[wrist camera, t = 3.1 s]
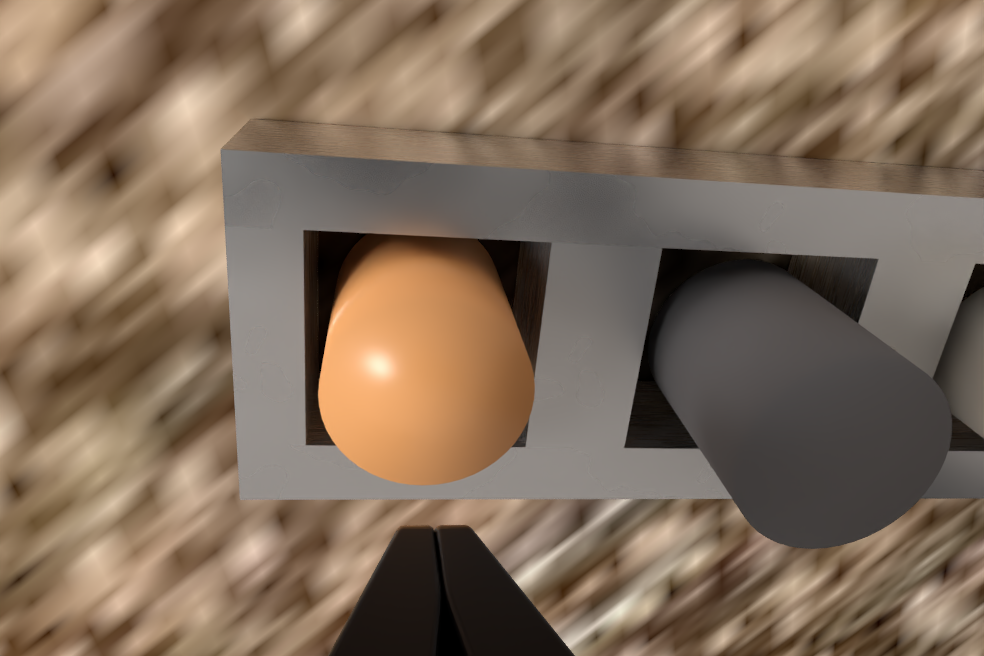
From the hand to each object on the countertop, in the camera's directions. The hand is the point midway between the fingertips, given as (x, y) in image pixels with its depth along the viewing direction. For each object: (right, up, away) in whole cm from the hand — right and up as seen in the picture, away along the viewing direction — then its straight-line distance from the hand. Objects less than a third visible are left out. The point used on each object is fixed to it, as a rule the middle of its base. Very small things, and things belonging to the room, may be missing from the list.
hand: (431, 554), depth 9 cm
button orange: (-1, +3, +8) cm, 8 cm away
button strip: (+6, +3, +9) cm, 11 cm away
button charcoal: (+6, +2, +7) cm, 9 cm away
